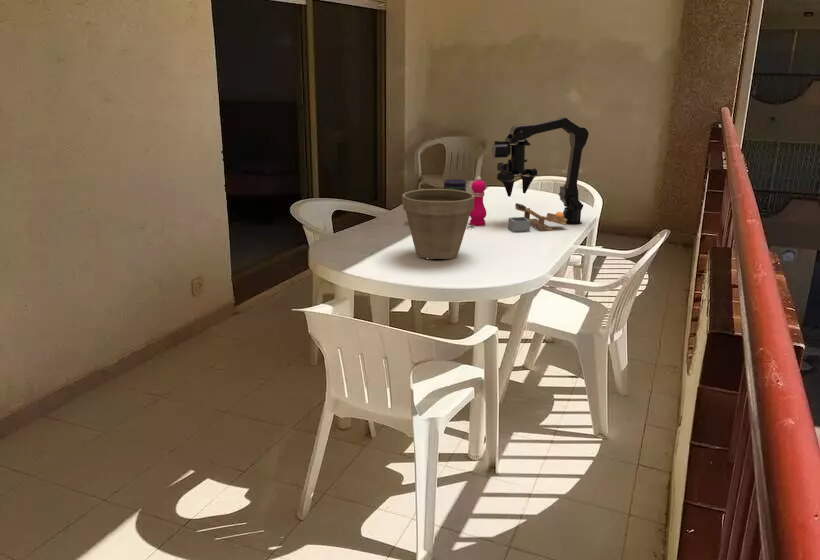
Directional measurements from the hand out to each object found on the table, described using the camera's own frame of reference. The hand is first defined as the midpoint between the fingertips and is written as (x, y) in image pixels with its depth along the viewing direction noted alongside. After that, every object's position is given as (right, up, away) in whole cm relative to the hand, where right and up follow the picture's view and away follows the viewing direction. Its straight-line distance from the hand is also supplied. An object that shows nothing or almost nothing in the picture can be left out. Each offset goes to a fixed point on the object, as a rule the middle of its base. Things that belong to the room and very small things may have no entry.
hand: (516, 194), depth 274 cm
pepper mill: (-16, -12, +4) cm, 20 cm away
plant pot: (-34, -26, -39) cm, 58 cm away
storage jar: (-24, -6, +21) cm, 33 cm away
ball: (+17, -9, -4) cm, 19 cm away
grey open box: (0, -15, -5) cm, 16 cm away
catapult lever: (+9, -9, 0) cm, 13 cm away
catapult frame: (+9, -13, +2) cm, 16 cm away
